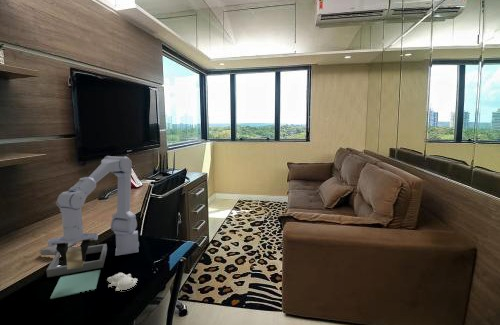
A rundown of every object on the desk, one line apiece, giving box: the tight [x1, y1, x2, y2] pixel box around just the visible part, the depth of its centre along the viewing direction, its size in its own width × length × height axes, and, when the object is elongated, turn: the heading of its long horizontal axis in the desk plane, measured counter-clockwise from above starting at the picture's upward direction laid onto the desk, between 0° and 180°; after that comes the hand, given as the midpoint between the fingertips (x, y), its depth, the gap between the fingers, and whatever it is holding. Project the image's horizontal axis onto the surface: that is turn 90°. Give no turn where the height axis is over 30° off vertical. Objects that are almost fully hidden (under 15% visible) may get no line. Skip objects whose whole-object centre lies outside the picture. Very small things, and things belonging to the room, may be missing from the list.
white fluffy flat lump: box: [106, 272, 139, 292], centre depth 94 cm, size 9×12×3 cm
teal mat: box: [49, 269, 101, 300], centre depth 93 cm, size 13×13×1 cm
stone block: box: [39, 242, 78, 256], centre depth 116 cm, size 12×5×10 cm
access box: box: [46, 243, 108, 278], centre depth 108 cm, size 18×16×3 cm
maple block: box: [66, 245, 85, 269], centre depth 93 cm, size 4×4×6 cm
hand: (75, 261), depth 92 cm, fingers closed on maple block, 4 cm apart
